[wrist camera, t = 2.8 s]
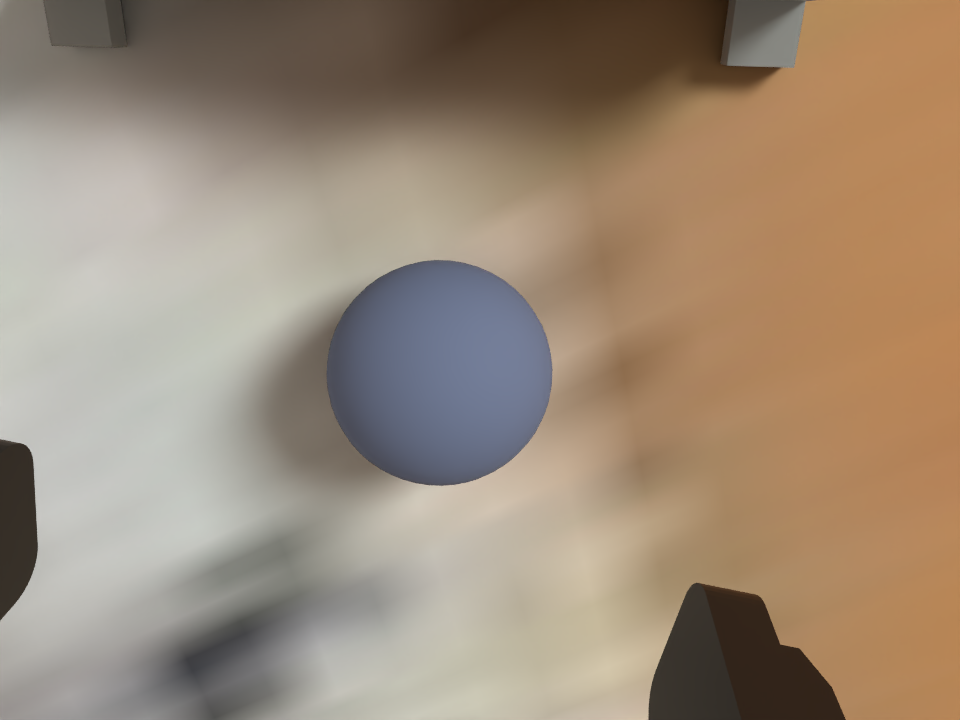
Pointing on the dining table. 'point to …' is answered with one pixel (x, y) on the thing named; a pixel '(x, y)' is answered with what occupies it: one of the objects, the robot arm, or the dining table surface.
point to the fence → (747, 42)
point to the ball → (439, 372)
